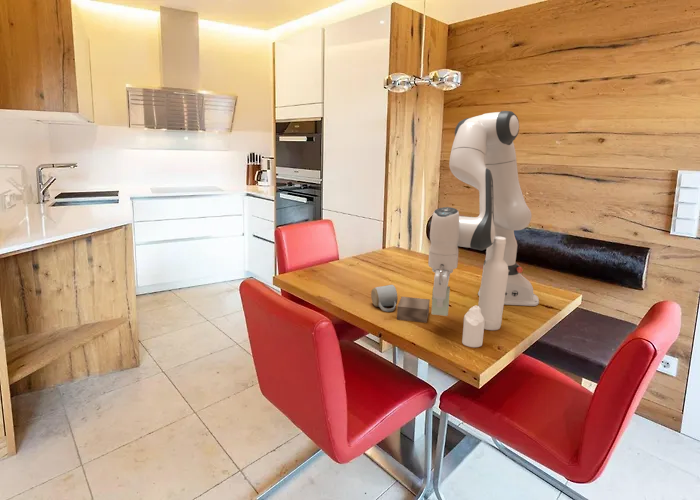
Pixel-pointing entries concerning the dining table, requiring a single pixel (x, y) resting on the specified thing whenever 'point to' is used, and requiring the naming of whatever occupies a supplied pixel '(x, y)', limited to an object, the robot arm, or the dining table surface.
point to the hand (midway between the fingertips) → (440, 302)
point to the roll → (473, 327)
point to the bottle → (494, 286)
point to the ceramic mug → (384, 297)
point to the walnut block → (413, 309)
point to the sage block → (443, 309)
